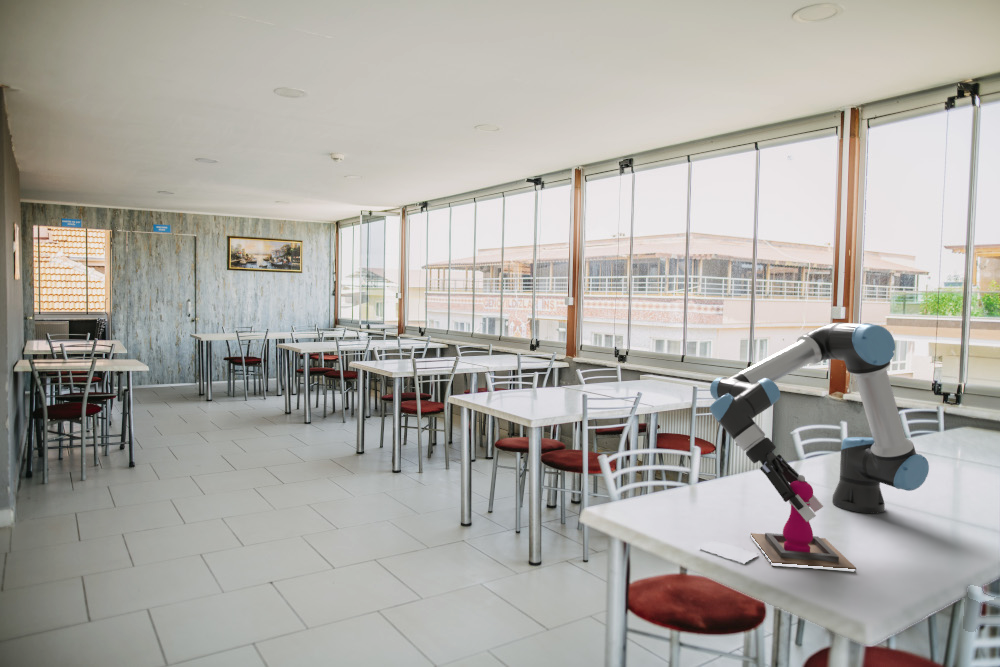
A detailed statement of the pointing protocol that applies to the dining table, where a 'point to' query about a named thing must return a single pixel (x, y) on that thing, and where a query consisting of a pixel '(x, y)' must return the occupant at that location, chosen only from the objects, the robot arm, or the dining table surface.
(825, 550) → the pocket board
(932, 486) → the dining table surface
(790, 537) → the pepper mill
